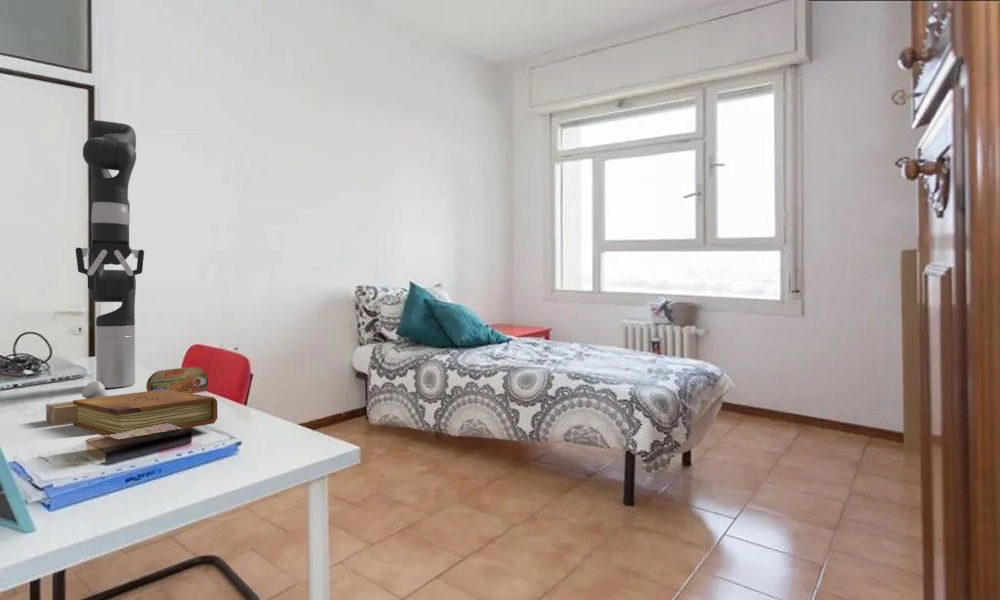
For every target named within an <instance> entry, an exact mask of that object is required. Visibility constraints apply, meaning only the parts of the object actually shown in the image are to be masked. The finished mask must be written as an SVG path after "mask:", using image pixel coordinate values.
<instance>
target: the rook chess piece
mask: <svg viewBox="0 0 1000 600" xmlns="http://www.w3.org/2000/svg"><path fill="white" fill-rule="evenodd" d="M81 396H82V398H84V399H88V398H97V397H105V396H110V394H108V393H107V391H106V388H105V387H104V385H103V384H101V382H100V381H96V380H95V381H91V382H90V383H88V384H86V386H85V387H84V388H83V389H82V391H81Z"/></svg>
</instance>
